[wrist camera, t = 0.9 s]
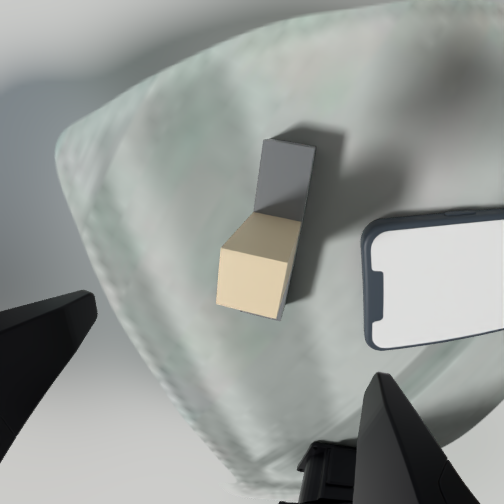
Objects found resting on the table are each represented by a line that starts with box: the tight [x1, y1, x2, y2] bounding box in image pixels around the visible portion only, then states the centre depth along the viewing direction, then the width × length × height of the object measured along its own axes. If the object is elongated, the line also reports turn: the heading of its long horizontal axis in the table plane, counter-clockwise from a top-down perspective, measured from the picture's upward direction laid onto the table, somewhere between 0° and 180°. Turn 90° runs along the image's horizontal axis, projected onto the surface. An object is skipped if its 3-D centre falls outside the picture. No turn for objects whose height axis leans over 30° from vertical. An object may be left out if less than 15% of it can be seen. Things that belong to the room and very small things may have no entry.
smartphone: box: [361, 208, 504, 351], centre depth 15 cm, size 9×2×16 cm
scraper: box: [216, 139, 316, 321], centre depth 15 cm, size 10×2×7 cm, turn 173°
